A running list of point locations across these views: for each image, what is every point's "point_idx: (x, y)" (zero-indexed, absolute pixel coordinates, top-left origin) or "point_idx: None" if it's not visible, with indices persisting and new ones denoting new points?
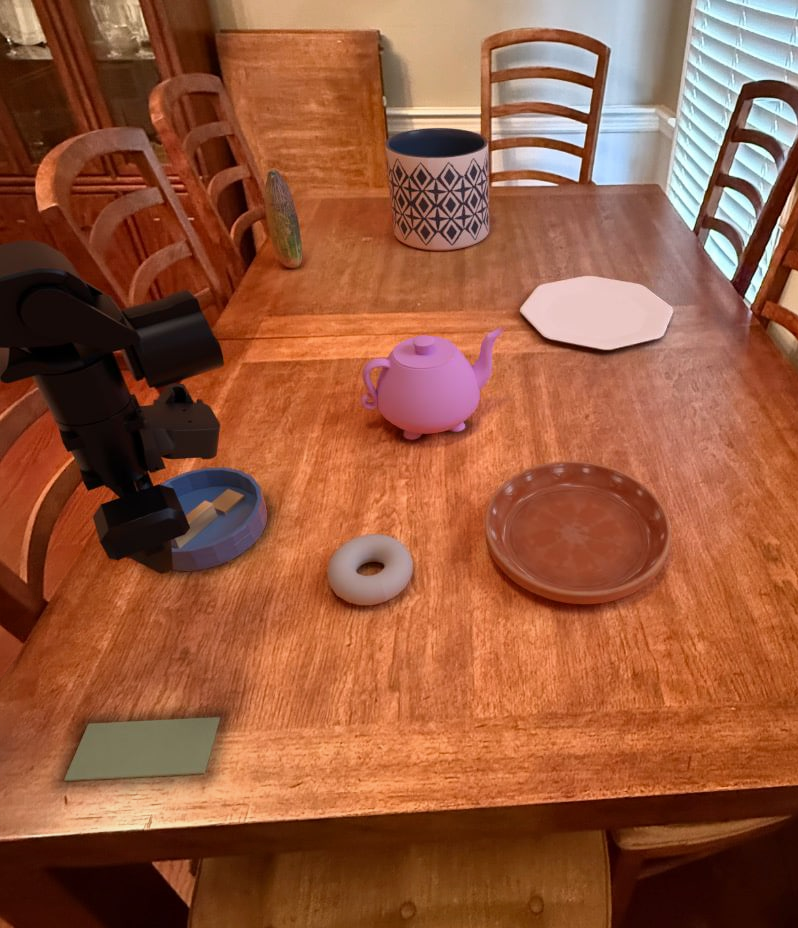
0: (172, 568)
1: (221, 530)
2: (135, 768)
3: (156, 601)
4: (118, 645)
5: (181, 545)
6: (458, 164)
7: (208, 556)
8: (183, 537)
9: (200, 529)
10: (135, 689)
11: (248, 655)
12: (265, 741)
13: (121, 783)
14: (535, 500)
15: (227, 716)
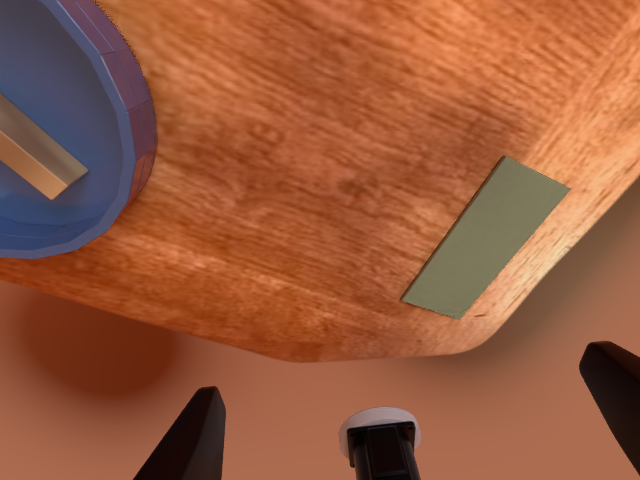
0: (615, 345)
1: (35, 74)
2: (500, 259)
3: (215, 217)
4: (287, 268)
5: (80, 166)
6: None
7: (142, 121)
8: (62, 163)
9: (29, 122)
10: (378, 252)
11: (415, 87)
12: (592, 97)
13: (502, 271)
14: None
15: (507, 144)
